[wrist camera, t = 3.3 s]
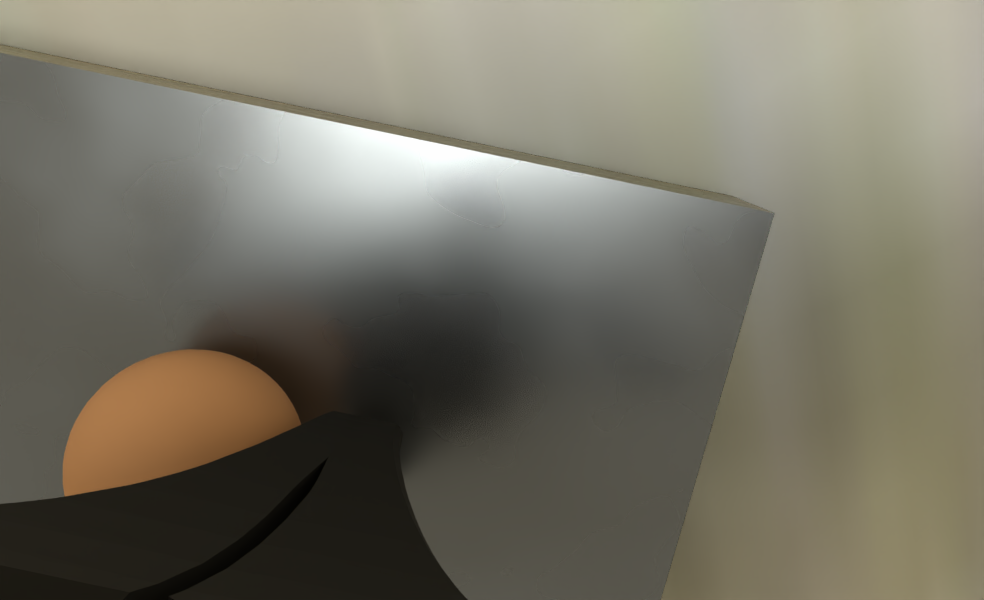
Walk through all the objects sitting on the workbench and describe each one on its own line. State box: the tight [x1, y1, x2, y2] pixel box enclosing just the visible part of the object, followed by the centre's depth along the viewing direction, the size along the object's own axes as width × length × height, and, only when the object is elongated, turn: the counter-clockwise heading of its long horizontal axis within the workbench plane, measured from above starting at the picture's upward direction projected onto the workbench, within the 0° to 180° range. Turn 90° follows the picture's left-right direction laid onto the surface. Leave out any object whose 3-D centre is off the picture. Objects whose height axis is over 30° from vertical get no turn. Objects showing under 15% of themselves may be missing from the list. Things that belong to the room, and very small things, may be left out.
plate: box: [0, 44, 774, 600], centre depth 13 cm, size 18×10×2 cm, turn 78°
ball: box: [63, 349, 301, 496], centre depth 11 cm, size 3×3×3 cm
